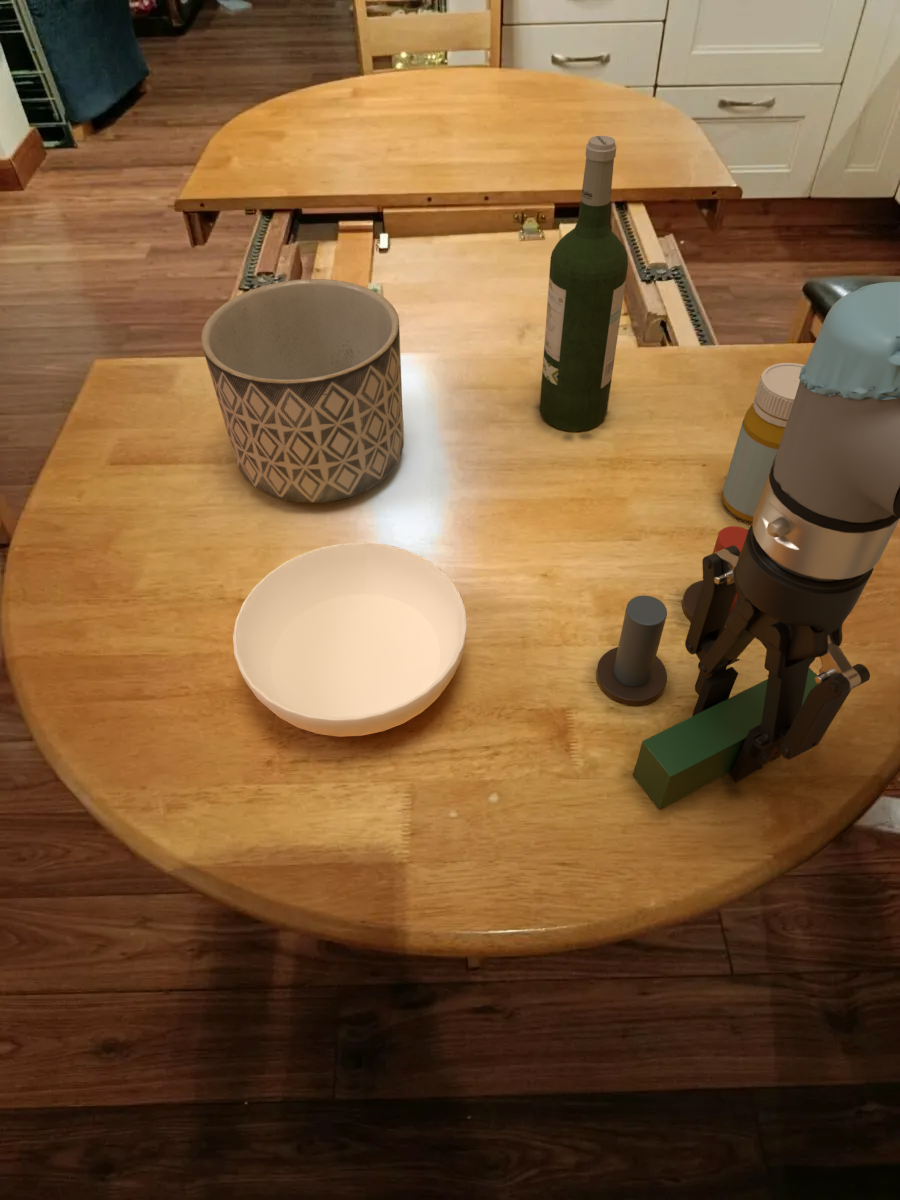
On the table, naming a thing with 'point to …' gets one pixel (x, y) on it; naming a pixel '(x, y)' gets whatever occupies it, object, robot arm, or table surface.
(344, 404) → the planter
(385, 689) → the bowl
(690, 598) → the red peg on stand
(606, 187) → the wine bottle
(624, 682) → the grey cylinder on disc
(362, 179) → the table surface
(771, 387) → the bottle
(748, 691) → the green bar
